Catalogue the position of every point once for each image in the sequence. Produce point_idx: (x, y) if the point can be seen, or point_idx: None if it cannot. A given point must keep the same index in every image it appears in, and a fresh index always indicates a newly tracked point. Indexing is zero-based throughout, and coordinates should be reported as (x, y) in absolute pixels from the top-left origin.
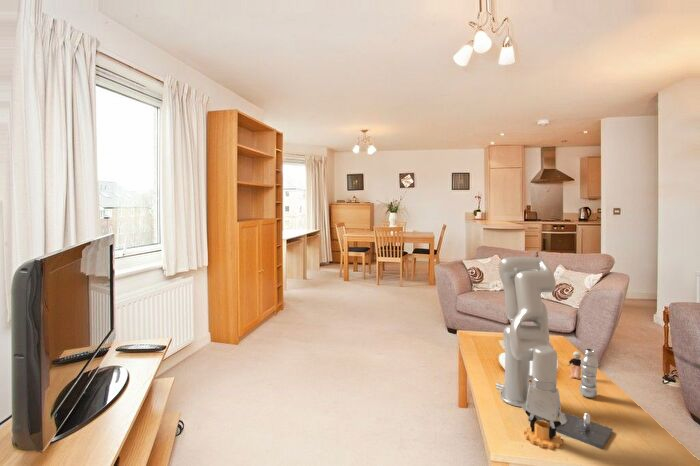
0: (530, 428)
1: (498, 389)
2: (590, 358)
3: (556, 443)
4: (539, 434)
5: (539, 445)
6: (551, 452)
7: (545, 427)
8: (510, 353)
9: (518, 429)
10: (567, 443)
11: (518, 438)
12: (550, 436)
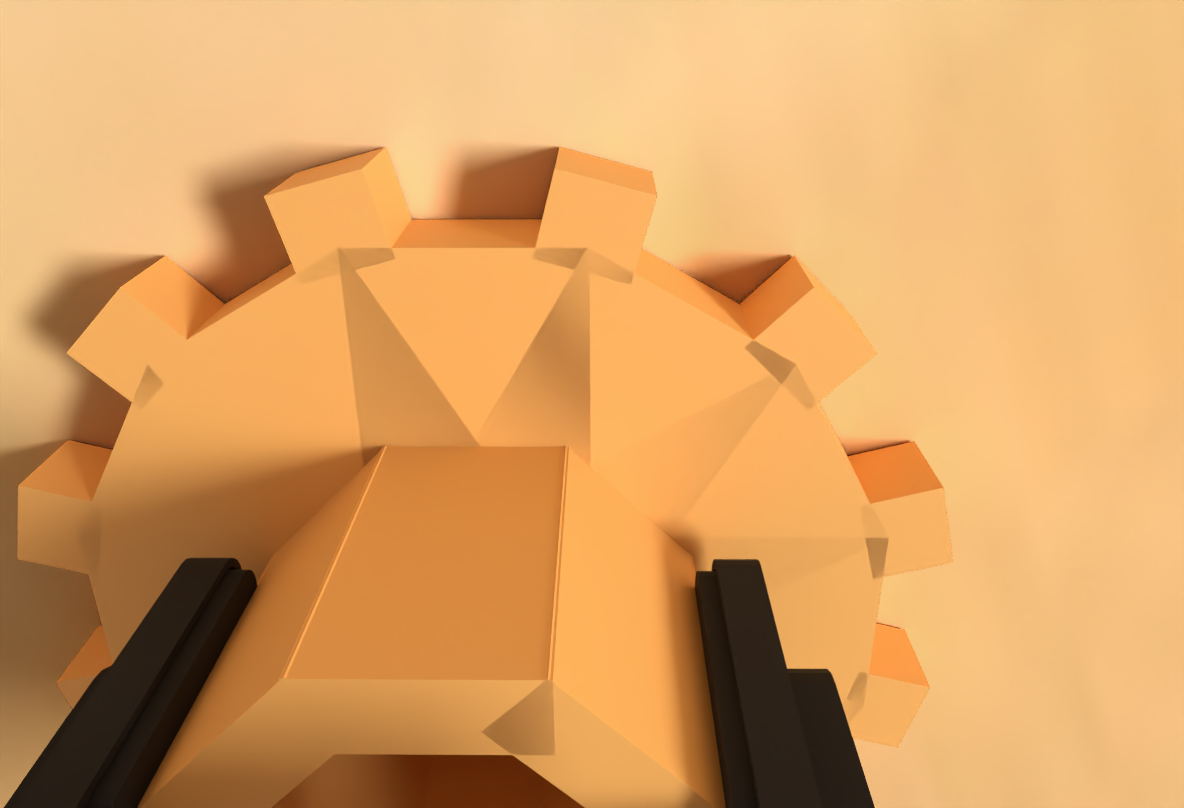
0: None
1: None
2: None
3: (76, 521)
4: (475, 508)
5: (367, 159)
6: (53, 150)
7: (276, 787)
8: None
9: (1090, 553)
10: None
11: (992, 148)
12: (175, 597)
